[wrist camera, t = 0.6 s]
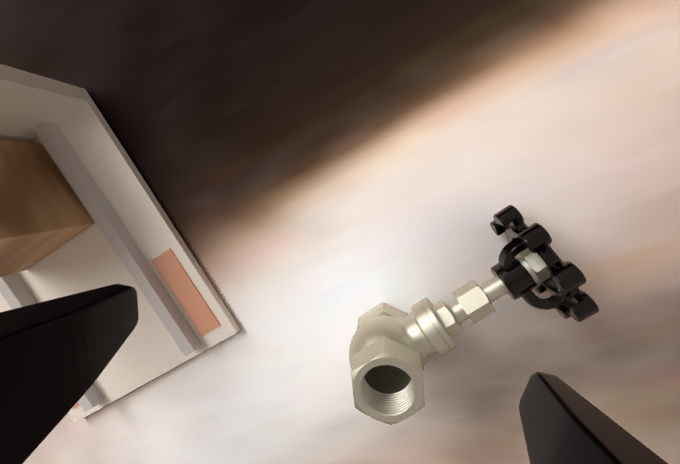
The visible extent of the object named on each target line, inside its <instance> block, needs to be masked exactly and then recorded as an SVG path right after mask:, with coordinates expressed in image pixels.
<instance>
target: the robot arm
mask: <svg viewBox="0 0 680 464" xmlns="http://www.w3.org/2000/svg"><path fill="white" fill-rule="evenodd" d="M138 318H139V313H138V299H137V291H136V289H135V288H134V287H131V286H127V285H122V284H113V285H109V286H105V287H101V288H97V289H92V290H88V291H84V292H80V293H76V294H72V295H68V296H64V297H60V298H56V299H52V300H48V301H44V302H40V303H36V304H32V305H28V306H24V307H20V308H16V309H12V310H8V311H4V312H0V464H22V463H23V462H24V461H25V460H26V459H27V458H28V457H29V456H30V455H31V453H32V452H33V451H34V450H35V449H36V448H37V447H38V446H39V444H40V443H41V442H42V441H43V440H44V439H45V438H46V437H47V435H48V434H49V433H50V432H51V431H52V430H53V429H54V428H55V427H56V425H57V424H58V423H59V422H60V421H61V420H62V419H63V418H64V416H65V415H66V414H67V413H68V412H69V411H70V410H71V409H72V407H73V406H74V405H75V404H76V403H77V402H78V401H79V400H80V399H81V397H82V396H83V395H84V394H85V393H86V392H87V390H88V389H89V388H90V387H91V386H92V385H93V383H94V382H95V381H96V379H97V378H98V377H99V376H100V374H101V373H102V372H103V370H104V369H105V368H106V366H107V365H108V364H109V362H110V361H111V360H112V358H113V357H114V356H115V354H116V353H117V352H118V350H119V349H120V347H121V346H122V345H123V343H124V342H125V341H126V339H127V338H128V337H129V335H130V334H131V333H132V331H133V330H134V329H135V327H136V325H137V323H138ZM519 411H520V416H521V421H522V426H523V431H524V436H525V440H526V445H527V450H528V455H529V460H530V464H668V463H666V462H665V461H664V460H663V459H661V458H660V457H659V456H657V455H656V454H655V453H654V452H652V451H651V450H650V449H649V448H647V447H646V446H645V445H643V444H642V443H641V442H640V441H638V440H637V439H636V438H635V437H633V436H632V435H631V434H629V433H628V432H627V431H626V430H624V429H623V428H622V427H621V426H619V425H618V424H617V423H615V422H614V421H613V420H612V419H610V418H609V417H608V416H607V415H605V414H604V413H603V412H601V411H600V410H599V409H598V408H596V407H595V406H594V405H593V404H591V403H590V402H589V401H587V400H586V399H585V398H584V397H582V396H581V395H580V394H578V393H577V392H576V391H575V390H573V389H572V388H571V387H570V386H568V385H567V384H566V383H564V382H563V381H562V380H561V379H559V378H558V377H557V376H554V375H550V374H545V373H540V372H535V373H533V374H532V375H531V377H530V379H529V382H528V384H527V386H526V388H525V391H524V393H523V395H522V398H521V400H520V405H519Z"/></svg>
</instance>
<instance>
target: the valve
mask: <svg viewBox="0 0 680 464" xmlns="http://www.w3.org/2000/svg"><path fill="white" fill-rule="evenodd" d="M493 218H494V221H492V222H491V223H490V225H491V227H492V229H493V230H494V232H495V233H496V234H497V235H500V234H502V233H503V232H506V236H507V239H508V241H509V243H508V244H507V245H506V246H505V247H504V248H503V249H502V251H501V253H500V255H499V263H498V264H496V265H495V266H493V267H491V271H492V273H493V275H494V276H495V277H494V278H492V279H491V280H489V281H487V282H486V283H484V284H482V285H481V286H479V285H478V284H477V283H476V282H475V281H473V280H472V281H471V282H469V283H467V284H466V285H464V286H463V287H461V288H459V289H458V290H456V291H454V292H453V294H454V296H455V298H456V299H455V300H453V301H452V302H450V303H445V302H444V301H442V300H440V301H438V302H437V303H435V304H434V305H433V304H432V303H431V302H430V300H429V299H427V298H424V299H422V300H421V301H419V302H418V303H416V304H414V305H413V306H412V307H411V310H412V314H410V315H409V314H407V313H405V312H403V311H401V310H399V309H397V308H395V307H392V306H390V305H388V304H386V303H383V302H382V303H380V304H379V305H377V306H376V307H374V308H373V309H371V310H369V311H368V312H366V313H365V314H363V315H362V316H360V317H359V318H358V325H357V331H356V332H355V334H354V336H353V338H352V340H351V344H350V348H349V361H350V366H351V375H352V386H353V395H354V403H355V408H356V409H358V410H359V411H361V412H363V413H364V414H366V415H368V416H370V417H372V418H374V419H376V420H379V421H381V422H384V423H387V424H390V425H392V424H395V423H398V422H400V421H402V420H404V419H406V418H408V417H410V416H411V415H413V414H414V413H416V412H417V411H419V410H420V409H421V408H423V407H424V406H425V398H424V385H423V373H422V372H423V369H424V363H425V359H426V357H427V356H429V355H431V354H432V353H434V352H435V351H437V352H438V353H439V354H441V355H444V354H446V353H447V352H449V351H451V350H452V349H454V348H456V347H457V346H458V343H457V341H456V339H455V337H454V335H456V334H458V333H460V332H461V331H462V327H461V323H462V322H463V321H465V320H466V319H468V318H470V319H471V320H472V322H473V323H474V324H475V323H476V322H478V321H480V320H481V319H483V318H485V317H486V316H488V315H490V314H491V313H493V312H495V308H494V306H493V305H492V303H491V302H493V301H495V300H496V299H498V298H500V297H501V296H503V295H505V294H506V293H507V294H508V295H509V296H510V297H511V298H512V299H514V300H516V299H518V298H520V297H522V298H523V299H524V300H525V302H526V303H528V304H529V305H530V306H532V307H534V308H537V309H543V310H549V309H553V308H555V309H556V310H557V311H558V312H559V314H560V315H561V316H563V317H564V318H565V319H567V318H569V317H571V316H572V317H573V318H574V319H575V320H576V321H578V322H581V321H583V320H585V319H586V318H588V317H590V316H592V315H593V314H595V313H597V312H598V311H599V308H598V306H597V304H596V303H595V302H594V300H593V299H592V298H591V297H590V296H589V295H588V294H586V293H585V292H583V291H580V289H579V288H578V287H580V286H581V285H583V284H585V283H586V278H585V276H584V275H583V273H582V272H581V271H580V270H579V269H578V268H577V267H576V266H575V265H574V264H573V263H571V262H568V261H567V262H563V261H562V260H561V259H560V258H559V257H558V256H557V255H556V253H555V252H554V251H553V250H552V248H551V247H550V245H549V244H551V242H552V239H551V237H550V235H549V233H548V232H547V231H546V230H545V229H544V228H543V227H542V226H541V225H540V224H538V223H534V224H532V225H531V226H529V227H527V226H526V225H525V224H524V219H523V217H522V215H521V214H520V212H519V211H518V210H517V209H516V208H515V207H514V206H512V205H509V206H507V207H505V208H504V209H502V210H501V211H499V212H498V213H496V214H495V215H494V216H493ZM533 289H535V290H536V291H537V292H538V293H539V294H541V293H543V292H545V291H546V290H547V291H548V292H550V293H551V294H552V295H553V296H551V297H549V298H547V299H541V298H538V297H537V296H536V295H535V294H534V293H533V292H532V290H533Z"/></svg>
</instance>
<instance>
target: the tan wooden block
mask: <svg viewBox="0 0 680 464" xmlns="http://www.w3.org/2000/svg"><path fill="white" fill-rule="evenodd" d="M93 224H95V222H94V221H93V219H92V218H91V216H90V215H89V213H88V212H87V210H86V209H85V207H84V206H83V204H82V203H81V201H80V200H79V198H78V197H77V195H76V194H75V193H74V191H73V190H72V188H71V187H70V185H69V184H68V182H67V181H66V179H65V178H64V176H63V175H62V173H61V172H60V170H59V169H58V167H57V166H56V164H55V163H54V161H53V160H52V158H51V157H50V155H49V154H48V152H47V151H46V149H45V148H44V146H43V145H42V143H33V142H22V141H12V140H1V139H0V277H3V276H6V275H10V274H14V273H17V272H21V271H25V270H27V269H29V268H30V267H32V266H33V265H35V264H36V263H37V262H39V261H40V260H42V259H43V258H45V257H46V256H48V255H49V254H51V253H52V252H54V251H55V250H56V249H58V248H59V247H61V246H62V245H64V244H65V243H67V242H68V241H70V240H71V239H73V238H74V237H75V236H77V235H78V234H80V233H81V232H83V231H84V230H86V229H87V228H89V227H90V226H92V225H93Z"/></svg>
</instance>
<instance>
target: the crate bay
mask: <svg viewBox="0 0 680 464" xmlns="http://www.w3.org/2000/svg"><path fill="white" fill-rule="evenodd" d="M0 139H1V140H12V141H22V142H33V143H42V145H43V146H44V148H45V149H46V151H47V152H48V154H49V155H50V157H51V158H52V160H53V161H54V163H55V164H56V166H57V167H58V169H59V170H60V172H61V173H62V175H63V176H64V178H65V179H66V181H67V182H68V184H69V185H70V187H71V188H72V190H73V191H74V193H75V194H76V195H77V197H78V198H79V200H80V201H81V203H82V204H83V206H84V207H85V209H86V210H87V212H88V213H89V215H90V216H91V218H92V219H93V221H94V222H95V224H93V225H92V226H90V227H89V228H87V229H86V230H84V231H83V232H81V233H80V234H78V235H77V236H75V237H74V238H73V239H71V240H70V241H68V242H67V243H65V244H64V245H62V246H61V247H59V248H58V249H56V250H55V251H54V252H52V253H51V254H49V255H48V256H46V257H45V258H43V259H42V260H40V261H39V262H37V263H36V264H35V265H33V266H32V267H30V268H29V269H27V270H25V271H21V272H17V273H14V274H10V275H6V276H3V277H0V312H4V311H8V310H12V309H16V308H20V307H24V306H28V305H32V304H36V303H40V302H44V301H48V300H52V299H56V298H60V297H64V296H68V295H72V294H76V293H80V292H84V291H88V290H92V289H97V288H101V287H105V286H109V285H113V284H122V285H127V286H131V287H134V288H135V289H136V291H137V299H138V313H139V318H138V323H137V325H136V327H135V329H134V330H133V331H132V333H131V334H130V335H129V337H128V338H127V339H126V341H125V342H124V343H123V345H122V346H121V347H120V349H119V350H118V352H117V353H116V354H115V356H114V357H113V358H112V360H111V361H110V362H109V364H108V365H107V366H106V368H105V369H104V370H103V372H102V373H101V374H100V376H99V377H98V378H97V379H96V381H95V382H94V383H93V385H92V386H91V387H90V388H89V389H88V390H87V392H86V393H85V394H84V395H83V396H82V397H81V399H80V400H79V401H78V402H77V403H76V404H75V405H74V406H73V407H72V409H71V410H70V411H69V412H68V414H69V416H70V417H71V418H72V420H73V421H74V423H75V422H77V421H79V420H81V419H83V418H84V417H86V416H88V415H90V414H92V413H93V412H95V411H97V410H99V409H101V408H102V407H104V406H106V405H108V404H110V403H111V402H113V401H115V400H117V399H119V398H120V397H122V396H124V395H126V394H128V393H129V392H131V391H133V390H135V389H137V388H138V387H140V386H142V385H144V384H146V383H147V382H149V381H151V380H153V379H155V378H156V377H158V376H160V375H162V374H164V373H165V372H167V371H169V370H171V369H173V368H175V367H176V366H178V365H180V364H182V363H184V362H185V361H187V360H189V359H191V358H193V357H194V356H196V355H198V354H200V353H202V352H203V351H205V350H207V349H209V348H211V347H212V346H214V345H216V344H218V343H220V342H221V341H223V340H225V339H227V338H229V337H230V336H232V335H234V334H236V333H237V332H238V331H239V330H240V327H239V326H238V324H237V323H236V321H235V320H234V318H233V317H232V315H231V314H230V312H229V310H228V309H227V307H226V306H225V304H224V303H223V301H222V300H221V298H220V296H219V295H218V293H217V292H216V290H215V289H214V287H213V286H212V284H211V283H210V281H209V279H208V278H207V276H206V275H205V273H204V272H203V270H202V269H201V267H200V266H199V264H198V262H197V261H196V259H195V258H194V256H193V255H192V253H191V252H190V250H189V249H188V247H187V245H186V244H185V242H184V241H183V239H182V238H181V236H180V235H179V233H178V232H177V230H176V228H175V227H174V225H173V224H172V222H171V221H170V219H169V218H168V216H167V215H166V213H165V211H164V210H163V208H162V207H161V205H160V204H159V202H158V201H157V199H156V198H155V196H154V194H153V193H152V191H151V190H150V188H149V187H148V185H147V184H146V182H145V180H144V179H143V177H142V176H141V174H140V173H139V171H138V170H137V168H136V167H135V165H134V163H133V162H132V160H131V159H130V157H129V156H128V154H127V153H126V151H125V150H124V148H123V146H122V145H121V143H120V142H119V140H118V139H117V137H116V136H115V134H114V133H113V131H112V129H111V128H110V126H109V125H108V123H107V122H106V120H105V119H104V117H103V116H102V114H101V112H100V111H99V109H98V108H97V106H96V105H95V103H94V102H93V100H92V99H91V97H90V95H89V94H88V92H87V91H86V89H83V88H80V87H76V86H73V85H70V84H66V83H63V82H59V81H56V80H53V79H49V78H46V77H42V76H39V75H36V74H32V73H29V72H25V71H22V70H19V69H15V68H12V67H8V66H5V65H2V64H0Z"/></svg>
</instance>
